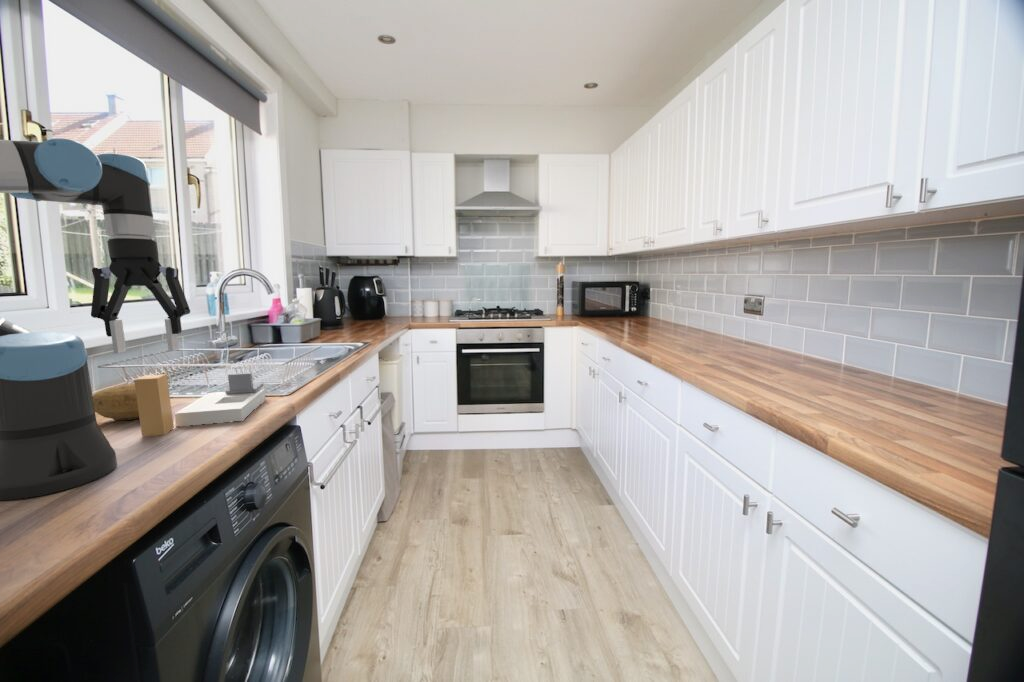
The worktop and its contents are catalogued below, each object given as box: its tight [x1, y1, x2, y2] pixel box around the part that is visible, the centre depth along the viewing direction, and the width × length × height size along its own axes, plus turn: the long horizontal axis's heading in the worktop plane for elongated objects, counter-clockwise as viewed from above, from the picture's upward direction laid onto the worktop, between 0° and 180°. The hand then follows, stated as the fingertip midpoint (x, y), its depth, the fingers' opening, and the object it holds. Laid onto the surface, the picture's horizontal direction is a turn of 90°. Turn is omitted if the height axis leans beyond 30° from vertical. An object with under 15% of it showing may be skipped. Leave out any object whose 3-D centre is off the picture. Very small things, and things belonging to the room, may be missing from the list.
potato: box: [92, 383, 140, 421], centre depth 104 cm, size 10×14×8 cm
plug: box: [133, 373, 175, 437], centre depth 94 cm, size 4×4×12 cm
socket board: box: [174, 388, 266, 427], centre depth 108 cm, size 18×13×3 cm
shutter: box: [224, 372, 264, 394], centre depth 116 cm, size 7×7×5 cm
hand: (147, 350), depth 92 cm, fingers open, 9 cm apart
